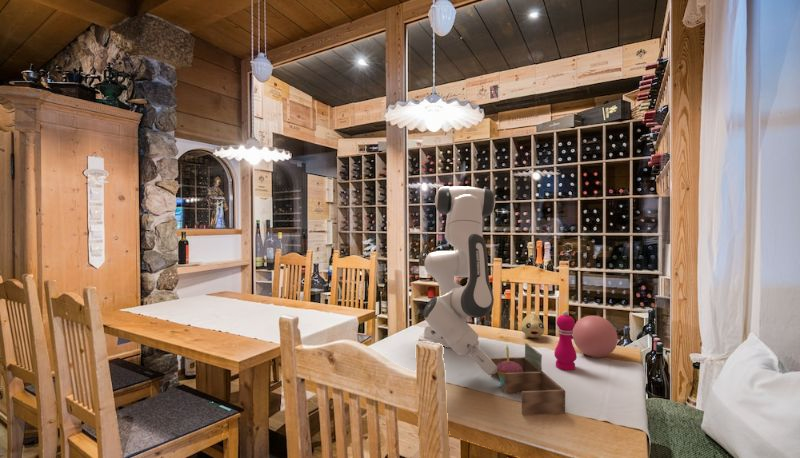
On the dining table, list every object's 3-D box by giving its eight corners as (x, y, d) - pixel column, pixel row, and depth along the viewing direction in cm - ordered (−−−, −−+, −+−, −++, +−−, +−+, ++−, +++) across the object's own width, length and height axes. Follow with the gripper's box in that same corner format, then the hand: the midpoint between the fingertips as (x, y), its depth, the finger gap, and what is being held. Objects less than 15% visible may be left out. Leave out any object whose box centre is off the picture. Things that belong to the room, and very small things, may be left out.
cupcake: (491, 379, 128) (491, 342, 128) (517, 378, 129) (517, 341, 129) (500, 390, 120) (500, 351, 119) (527, 389, 120) (528, 350, 120)
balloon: (599, 346, 162) (599, 308, 162) (625, 363, 142) (626, 321, 142) (561, 345, 163) (561, 308, 162) (582, 363, 143) (583, 321, 142)
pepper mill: (552, 363, 143) (552, 308, 142) (573, 364, 142) (573, 309, 141) (556, 370, 136) (557, 312, 135) (579, 371, 134) (579, 313, 134)
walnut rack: (522, 414, 105) (522, 373, 104) (491, 375, 131) (491, 343, 131) (565, 412, 106) (565, 372, 106) (525, 374, 132) (525, 342, 132)
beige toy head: (522, 341, 168) (523, 316, 168) (519, 333, 180) (519, 310, 180) (547, 343, 166) (547, 318, 166) (542, 334, 178) (542, 311, 178)
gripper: (480, 343, 113) (513, 376, 114) (463, 325, 133) (491, 353, 134) (465, 359, 112) (498, 392, 113) (450, 338, 133) (478, 366, 134)
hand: (494, 370), depth 124 cm, fingers closed, pressing on cupcake
